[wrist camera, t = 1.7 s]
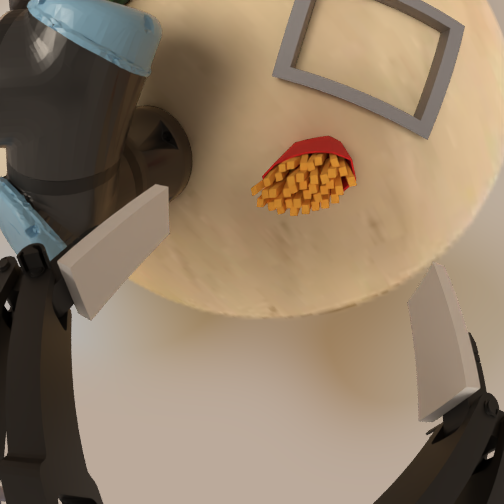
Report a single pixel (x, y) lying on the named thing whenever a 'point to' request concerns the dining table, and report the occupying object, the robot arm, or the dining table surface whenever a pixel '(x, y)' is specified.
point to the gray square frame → (419, 124)
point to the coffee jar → (21, 0)
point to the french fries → (307, 177)
